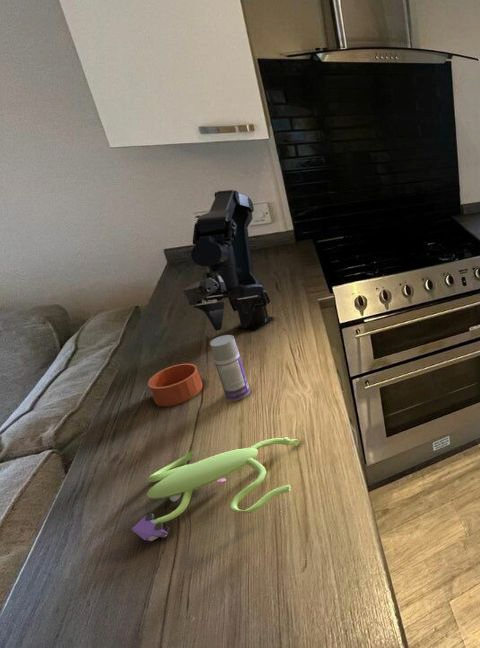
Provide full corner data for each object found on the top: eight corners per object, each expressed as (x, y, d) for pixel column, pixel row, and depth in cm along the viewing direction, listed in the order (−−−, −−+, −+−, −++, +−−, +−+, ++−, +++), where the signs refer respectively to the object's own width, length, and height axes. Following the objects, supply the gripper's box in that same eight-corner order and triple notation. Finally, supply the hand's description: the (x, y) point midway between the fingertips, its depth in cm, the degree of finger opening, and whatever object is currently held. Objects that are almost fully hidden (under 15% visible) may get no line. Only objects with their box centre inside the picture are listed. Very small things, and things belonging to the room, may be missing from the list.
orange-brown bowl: (183, 377, 109) (177, 360, 107) (212, 383, 107) (206, 366, 105) (144, 402, 100) (137, 384, 99) (175, 409, 98) (168, 391, 97)
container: (233, 388, 105) (217, 335, 100) (253, 387, 105) (238, 334, 100) (222, 401, 101) (204, 346, 95) (243, 400, 101) (226, 345, 96)
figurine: (286, 525, 73) (279, 501, 71) (100, 557, 68) (87, 533, 66) (316, 441, 90) (311, 419, 88) (168, 461, 85) (160, 439, 83)
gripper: (159, 275, 103) (170, 340, 103) (215, 265, 97) (225, 334, 97) (208, 269, 114) (217, 328, 114) (260, 260, 108) (270, 322, 108)
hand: (231, 328), depth 108 cm, fingers open, 9 cm apart
